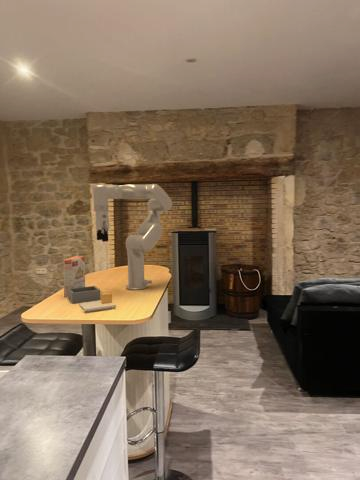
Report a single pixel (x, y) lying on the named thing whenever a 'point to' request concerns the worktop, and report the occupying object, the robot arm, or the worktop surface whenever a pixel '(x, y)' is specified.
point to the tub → (84, 294)
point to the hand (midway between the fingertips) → (102, 240)
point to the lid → (99, 303)
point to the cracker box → (73, 273)
